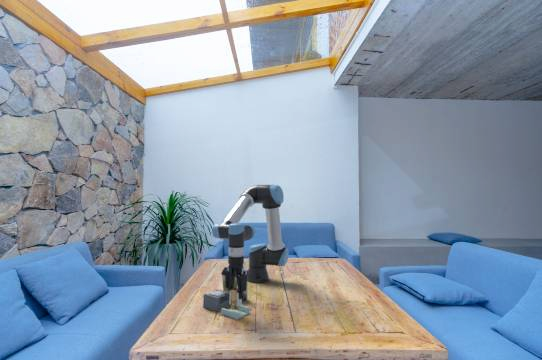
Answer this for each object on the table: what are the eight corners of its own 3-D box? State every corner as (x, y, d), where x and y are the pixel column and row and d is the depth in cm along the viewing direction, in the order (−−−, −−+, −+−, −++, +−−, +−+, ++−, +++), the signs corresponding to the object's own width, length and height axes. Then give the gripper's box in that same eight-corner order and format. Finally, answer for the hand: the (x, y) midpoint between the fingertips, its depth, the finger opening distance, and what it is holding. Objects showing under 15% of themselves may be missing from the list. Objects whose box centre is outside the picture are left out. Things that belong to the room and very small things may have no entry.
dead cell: (243, 298, 172) (243, 280, 173) (248, 299, 170) (248, 281, 170) (238, 300, 169) (238, 282, 169) (244, 301, 167) (244, 283, 167)
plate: (217, 293, 164) (217, 290, 164) (225, 295, 161) (225, 292, 161) (209, 296, 159) (209, 293, 160) (217, 298, 156) (217, 295, 156)
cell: (234, 306, 153) (234, 286, 153) (240, 307, 151) (241, 287, 151) (228, 308, 150) (229, 287, 150) (235, 310, 147) (235, 289, 148)
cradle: (217, 301, 167) (217, 289, 167) (231, 305, 161) (231, 292, 162) (203, 307, 159) (203, 294, 159) (217, 311, 153) (217, 298, 153)
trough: (233, 308, 157) (233, 303, 157) (249, 313, 151) (249, 307, 151) (221, 314, 150) (221, 308, 150) (237, 319, 144) (237, 313, 144)
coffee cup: (222, 300, 168) (222, 272, 168) (220, 295, 177) (220, 268, 178) (240, 299, 170) (240, 271, 171) (237, 293, 180) (237, 267, 180)
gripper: (217, 254, 153) (217, 303, 152) (244, 259, 143) (244, 310, 143) (228, 252, 159) (227, 298, 158) (254, 256, 150) (254, 306, 149)
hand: (235, 304), depth 150 cm, fingers closed on cell, 4 cm apart
